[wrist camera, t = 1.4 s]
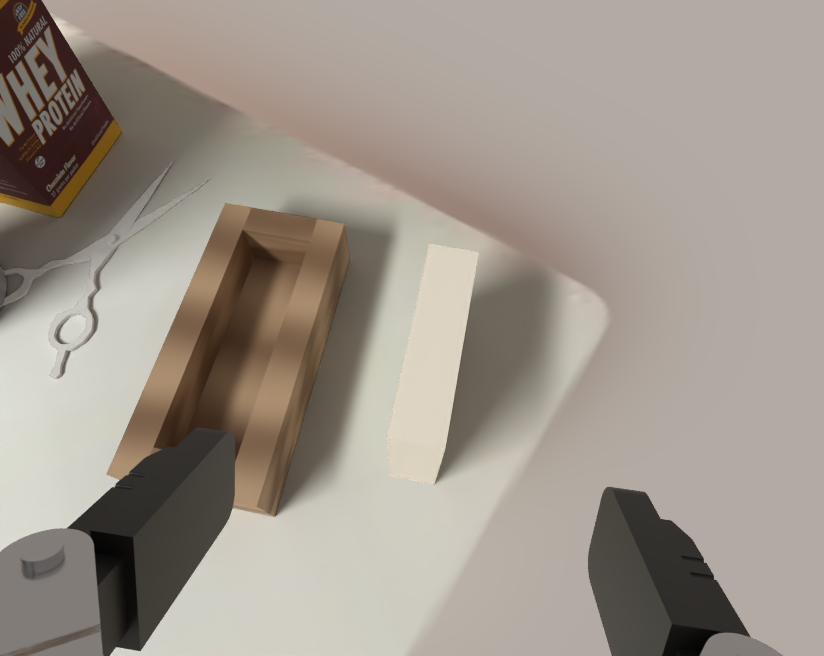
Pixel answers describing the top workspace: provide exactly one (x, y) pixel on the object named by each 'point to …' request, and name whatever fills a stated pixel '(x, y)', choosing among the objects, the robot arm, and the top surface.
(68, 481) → the top surface
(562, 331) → the top surface
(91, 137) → the supplement box
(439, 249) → the white rectangular block
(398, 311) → the top surface
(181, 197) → the scissors
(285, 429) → the walnut box
